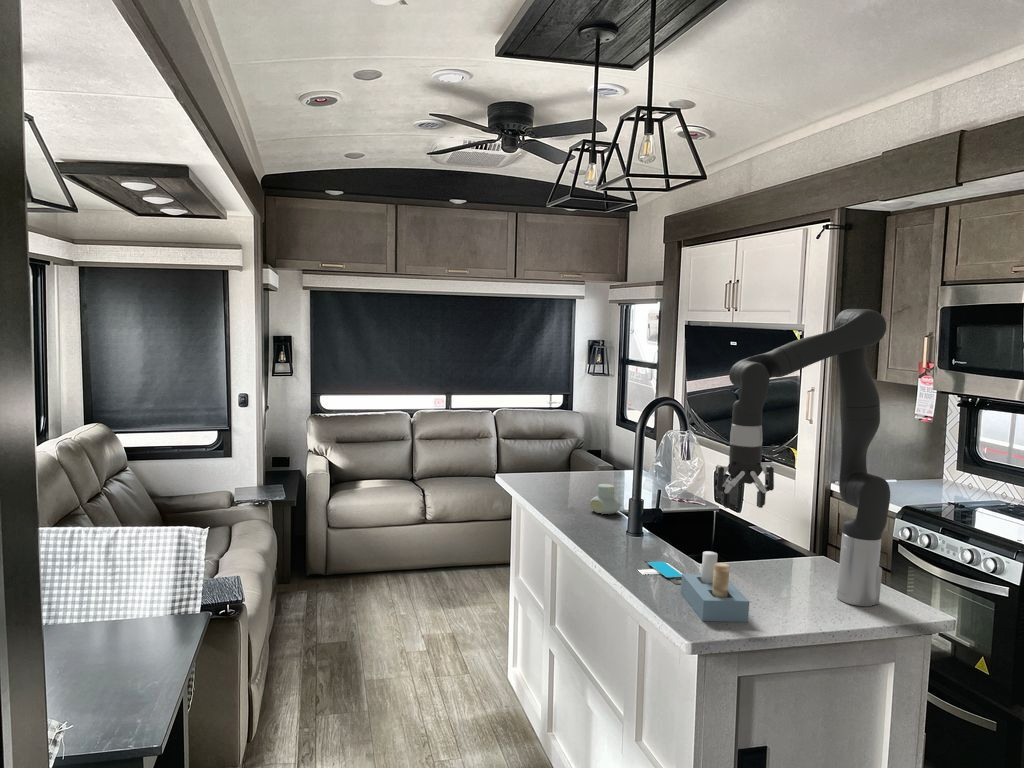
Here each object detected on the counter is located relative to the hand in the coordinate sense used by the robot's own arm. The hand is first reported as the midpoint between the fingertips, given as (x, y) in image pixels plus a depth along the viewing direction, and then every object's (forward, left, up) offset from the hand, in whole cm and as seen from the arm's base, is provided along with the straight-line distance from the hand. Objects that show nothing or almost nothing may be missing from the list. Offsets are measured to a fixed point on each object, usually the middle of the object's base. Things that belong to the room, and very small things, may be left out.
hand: (742, 507), depth 187 cm
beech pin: (+7, +6, -24) cm, 25 cm away
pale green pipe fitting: (+17, -85, -25) cm, 90 cm away
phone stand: (+14, -23, -26) cm, 37 cm away
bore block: (+6, +2, -25) cm, 26 cm away
